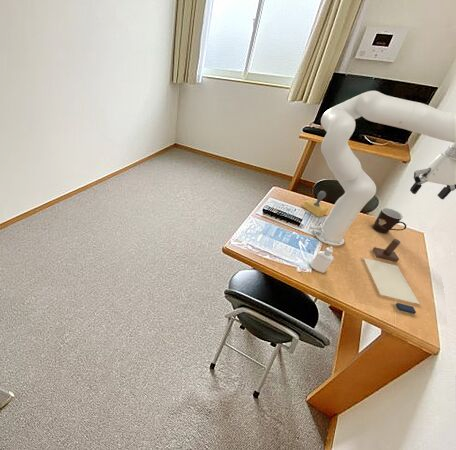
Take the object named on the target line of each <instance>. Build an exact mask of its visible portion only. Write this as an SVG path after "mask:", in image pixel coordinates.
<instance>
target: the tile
mask: <svg viewBox="0 0 456 450" xmlns="http://www.w3.org/2000/svg"><path fill="white" fill-rule="evenodd" d="M363 260H364V262H365V265H366V266H367V268H368V271H369V273H370V275H371V277H372V279H373V281H374V284H375V286H376V288H377V290H378V292H379V295H381V296H384V297H385V296H386V297H390V298H392V299H398V300H402V301H406V302H409V303H414V304H418V305H420V302H419V300H418V299H417V297H416V295H415V293H414V291H413V290H412V288H411V287H410V285H409V283H408V282H407V279H406V277H404V275H403V273H402V271H401V269H400V268H399V266H398V265H395V264H392V263H391V264H390V263H387V262H382V261H378V260H374V259H369V258H365V257H363Z"/></svg>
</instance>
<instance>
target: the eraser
mask: <svg viewBox="0 0 456 450" xmlns="http://www.w3.org/2000/svg"><path fill="white" fill-rule="evenodd" d="M395 306H396V308H397V311H400V312H404V313H408V314H413V315H415V314H416V313H417V311H416V309H415V307H414V306H412V305H408V304H404V303H401V302H396V303H395Z"/></svg>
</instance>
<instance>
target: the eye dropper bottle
mask: <svg viewBox="0 0 456 450" xmlns="http://www.w3.org/2000/svg"><path fill="white" fill-rule="evenodd" d="M333 248H334V247H333V245H331V246H329V247H326V248H325V250H319V251H318V252H317V254H316V255H315V257H314V258H313V260H312V261H311V263H310V267H311V269H313V270H314V271H316V272H319V273H322V274H324V273H326V271H327V270H328V269H329V267H330V266H331V265H332V263H333V262H334V256H333V253H334V249H333Z"/></svg>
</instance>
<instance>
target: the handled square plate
mask: <svg viewBox="0 0 456 450" xmlns="http://www.w3.org/2000/svg"><path fill="white" fill-rule="evenodd" d="M400 244H401V241H400V240H399V239H396V238H393V239H392V240H391V241H390V242H389V244H388V245H387V246H386V247H385V248H379V247H373V249H372V252H373V254H374V257H375V258H376V259H382V260H385V261H390V262H394V263H398V261H399V260H400V258H399V256H398V255H397V253H396V252H395V251H396V249H397V248H398V247H399V245H400Z"/></svg>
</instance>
